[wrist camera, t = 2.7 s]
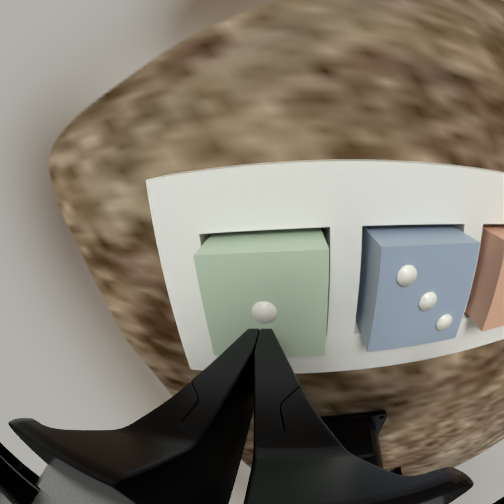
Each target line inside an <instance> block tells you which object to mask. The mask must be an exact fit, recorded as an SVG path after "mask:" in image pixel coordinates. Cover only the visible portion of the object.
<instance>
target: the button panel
mask: <svg viewBox="0 0 504 504" xmlns="http://www.w3.org/2000/svg"><path fill="white" fill-rule="evenodd" d="M146 185H147V192H148V198H149V204H150V210H151V216H152V221H153V227H154V232H155V237H156V242H157V247H158V252H159V256H160V261H161V265H162V270H163V274H164V278H165V282H166V286H167V290H168V294H169V298H170V302H171V306H172V310H173V313H174V317H175V320H176V324H177V327H178V331H179V334H180V338H181V341H182V344H183V348H184V351H185V354H186V357H187V360H188V363H189V366H190V369H191V370H201V371H203V370H204V369H205V368H206V367H208V366H209V365H210V364H211V363H212V362H213V361H214V360H215V359H216V358H217V357H218V356H214V352H213V348H212V344H211V339H210V335H209V331H208V326H207V322H206V317H205V313H204V308H203V303H202V298H201V293H200V288H199V283H198V278H197V273H196V268H195V262H194V257H193V255H194V254H195V253H196V252H197V250H198V249H199V248H200V247H201V246H202V245H203V244H204V242H205V241H206V240H207V239H208V238H209V237H210V236H211V235H212V233H223V232H239V231H257V230H276V229H297V228H319V227H323V235H324V237H325V240H326V243H327V245H328V248H329V286H328V310H327V327H326V342H325V354H324V356H306V357H287V359H288V361H289V363H290V365H291V367H292V369H293V371H294V373H319V372H335V371H347V370H358V369H367V368H375V367H383V366H390V365H397V364H403V363H409V362H415V361H420V360H425V359H430V358H435V357H440V356H444V355H448V354H453V353H457V352H461V351H465V350H468V349H472V348H476V347H479V346H482V345H486V344H489V343H492V342H495V341H498V340H501V339H504V325H503V326H500V327H496V328H493V329H489V330H486V331H481V330H480V329H479V328H478V326H477V325H476V324H475V323H474V321H473V320H472V319H471V318H470V317H469V315H468V314H467V313H466V312H465V310H464V314H463V317H462V320H461V323H460V326H459V329H458V332H457V335H456V337H455V338H453V339H448V340H443V341H438V342H433V343H428V344H422V345H416V346H410V347H403V348H396V349H389V350H381V351H373V352H367V350H366V346H365V343H364V340H363V337H362V334H361V331H360V328H359V325H358V322H357V319H356V312H357V303H358V292H359V281H360V267H361V250H362V226H378V225H423V224H450V225H452V226H453V227H455V228H457V229H459V230H460V231H462V232H464V233H465V234H467V235H469V236H470V237H472V238H473V239H475V240H477V241H478V242H480V244H481V237H482V230H483V224H504V172H501V171H496V170H489V169H483V168H476V167H469V166H460V165H452V164H442V163H431V162H417V161H400V160H370V159H331V160H300V161H282V162H267V163H255V164H244V165H234V166H225V167H216V168H208V169H201V170H193V171H186V172H180V173H173V174H168V175H163V176H159V177H155V178H151V179H147V180H146ZM479 250H480V246H479ZM478 255H479V251H478ZM477 261H478V257H477ZM476 266H477V262H476ZM475 270H476V267H475ZM474 275H475V272H474ZM473 279H474V276H473ZM472 283H473V281H472ZM471 287H472V285H471ZM470 291H471V289H470ZM469 295H470V293H469ZM468 299H469V296H468ZM467 302H468V300H467ZM466 306H467V304H466ZM465 309H466V307H465Z"/></svg>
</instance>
